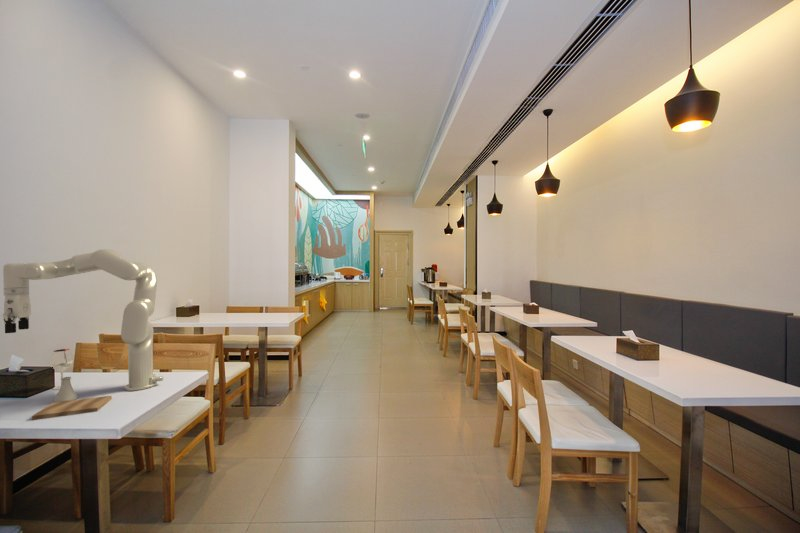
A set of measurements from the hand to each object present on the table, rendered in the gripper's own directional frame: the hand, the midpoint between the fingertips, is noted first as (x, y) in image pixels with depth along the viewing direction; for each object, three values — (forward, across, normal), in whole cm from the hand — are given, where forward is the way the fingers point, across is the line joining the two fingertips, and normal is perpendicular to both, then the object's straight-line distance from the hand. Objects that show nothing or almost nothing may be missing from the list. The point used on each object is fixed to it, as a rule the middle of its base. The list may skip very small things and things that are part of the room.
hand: (17, 330), depth 152 cm
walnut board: (+31, -22, -26) cm, 46 cm away
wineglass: (+31, +15, -9) cm, 36 cm away
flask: (+31, -9, -19) cm, 37 cm away
